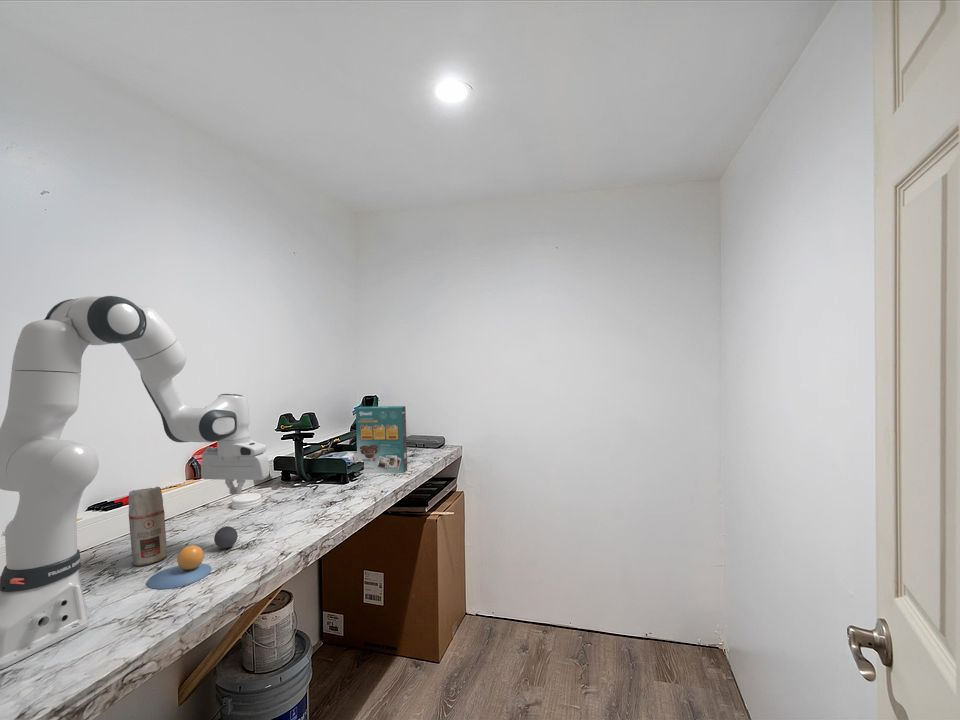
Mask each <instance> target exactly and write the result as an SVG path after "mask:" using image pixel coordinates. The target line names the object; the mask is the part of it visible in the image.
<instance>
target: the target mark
mask: <svg viewBox="0 0 960 720" xmlns="http://www.w3.org/2000/svg"><path fill="white" fill-rule="evenodd" d="M211 571H212V566H211V565H210V564H207V563H203V562H202V563H201V564H200V565H199V566H198V567H197V568H195V569H192V570H184V569H182V568H180V567H179V565H174V566H171V567H169V568H168V567H167V568H165V569H163V570H161V571H158V572H157V573H155V574H153V575H151V576H150V577H149V578H148V579H147V581H146V586H147V587H148V588H150V589H153V590H169V589H175V588H181V587H184V586H185V587H186V586H188V585H191V584H193V583H195V582H196V583H197V582H198V581H201V580H202V579H204V578H206V577H207V576H208V575H210V573H211Z"/></svg>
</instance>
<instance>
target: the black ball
mask: <svg viewBox="0 0 960 720" xmlns="http://www.w3.org/2000/svg"><path fill="white" fill-rule="evenodd" d="M213 537H214V538H213V540H214V544H215V545H216V546H217V547H218V548H220V549H228V548H231V547H232V546H234V544H235V543H236V542H237V541H238V531H237V530H236V528H234V527H232V526H223V527H220V528H219V529H218V530H217V531H216V532H215V535H214V536H213Z"/></svg>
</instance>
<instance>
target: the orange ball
mask: <svg viewBox="0 0 960 720" xmlns="http://www.w3.org/2000/svg"><path fill="white" fill-rule="evenodd" d="M204 558H205V552H204V551H203V549H202V548H201V547H200V546H198V545H195V544H194V545H193V544H192V545H187V546H185V547H184V548H183V549H181V550H180V551H179V553H178V554H177V560H176V562H177V566H179V567H180V568H182V569H184V570H192V569H195V568H197V567H198V566H199V565H200V564H201V563H203V561H204Z"/></svg>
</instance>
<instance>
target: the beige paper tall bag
mask: <svg viewBox="0 0 960 720" xmlns="http://www.w3.org/2000/svg"><path fill="white" fill-rule="evenodd" d="M163 499H164V498H163V493H162V488H161V486H155V487H148V488H141V489H135V490H131V491H129V492H128V522H129V533H130V534H129V536H130V547H131V557H132V565H134V566H146V565H150V564H152V563H153V564H154V563H156V562H160V561H162V560H164V559H165V558H168V557H167V556H168V553H167V552H168V551H167V547H168V545H167V532H166V531H167V530H166V519H165V518H166V516H165V514H166V513H165V508H164V500H163Z"/></svg>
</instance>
